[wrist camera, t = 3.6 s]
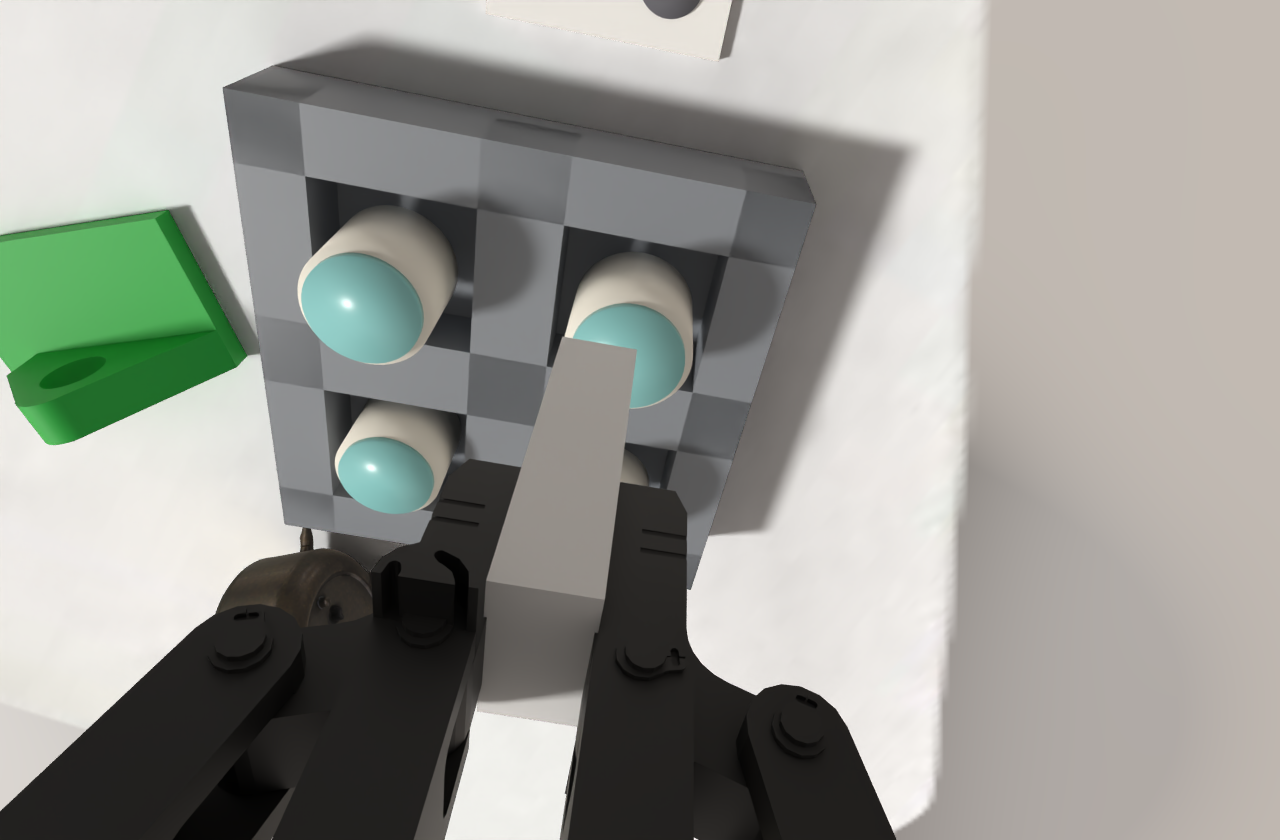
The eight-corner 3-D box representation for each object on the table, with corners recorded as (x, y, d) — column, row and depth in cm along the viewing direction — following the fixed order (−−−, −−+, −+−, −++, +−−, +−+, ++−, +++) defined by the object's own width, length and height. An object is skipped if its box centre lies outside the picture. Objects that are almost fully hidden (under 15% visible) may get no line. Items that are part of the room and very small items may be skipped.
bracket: (172, 207, 34) (73, 270, 29) (250, 352, 39) (177, 431, 33) (-54, 242, 36) (-190, 308, 30) (45, 377, 40) (-57, 457, 35)
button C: (334, 194, 30) (286, 237, 26) (460, 217, 30) (429, 263, 26) (341, 305, 33) (299, 357, 29) (456, 326, 33) (428, 380, 29)
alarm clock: (274, 506, 44) (101, 768, 31) (356, 493, 44) (213, 758, 30) (355, 624, 51) (239, 885, 37) (429, 615, 50) (336, 879, 36)
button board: (272, 65, 30) (222, 87, 27) (802, 170, 31) (816, 204, 28) (315, 475, 43) (284, 524, 40) (690, 537, 44) (690, 589, 41)
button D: (362, 375, 37) (328, 428, 33) (463, 393, 37) (439, 447, 34) (366, 453, 40) (334, 509, 36) (459, 469, 40) (437, 525, 37)
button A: (583, 241, 30) (569, 289, 27) (704, 264, 31) (706, 314, 27) (568, 346, 33) (554, 402, 30) (679, 366, 33) (678, 423, 30)
